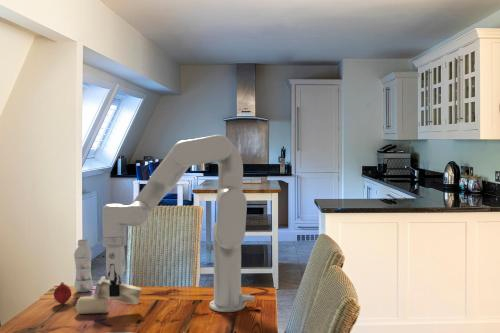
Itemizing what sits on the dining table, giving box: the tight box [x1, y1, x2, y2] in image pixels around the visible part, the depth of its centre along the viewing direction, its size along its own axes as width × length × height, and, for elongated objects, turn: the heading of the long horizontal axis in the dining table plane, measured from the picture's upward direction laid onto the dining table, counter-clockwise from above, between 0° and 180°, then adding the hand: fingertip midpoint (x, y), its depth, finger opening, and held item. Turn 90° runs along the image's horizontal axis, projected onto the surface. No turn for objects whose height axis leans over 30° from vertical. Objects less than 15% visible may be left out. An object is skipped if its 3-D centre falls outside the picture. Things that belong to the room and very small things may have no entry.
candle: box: [74, 295, 109, 315], centre depth 163 cm, size 6×6×10 cm
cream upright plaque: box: [93, 275, 143, 306], centre depth 164 cm, size 14×8×5 cm, turn 96°
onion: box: [53, 281, 72, 305], centre depth 172 cm, size 6×6×8 cm
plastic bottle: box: [73, 238, 94, 293], centre depth 186 cm, size 6×7×20 cm
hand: (115, 294), depth 164 cm, fingers closed on cream upright plaque, 2 cm apart
